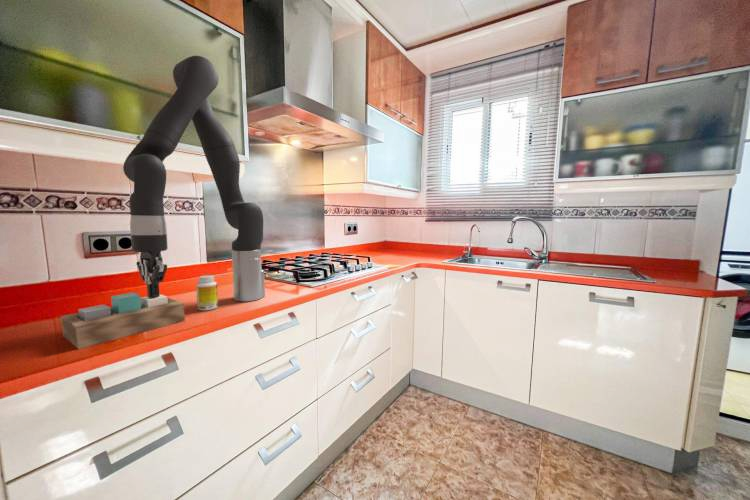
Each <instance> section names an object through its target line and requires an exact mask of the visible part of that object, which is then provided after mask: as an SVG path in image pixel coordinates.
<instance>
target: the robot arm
mask: <svg viewBox="0 0 750 500" xmlns="http://www.w3.org/2000/svg"><path fill="white" fill-rule="evenodd" d="M172 77H173V80H174V81H173V82H174V84H175V86H176V90H175V92H174V93H173V95H172V96H170V98H169V99H168V101H167V102H166V103H164V105H163V106H162V108H160V109H159V110H158V112H157V113H156V114H155V116H154V118H153V119H152V120H151V122H150V124H149V125H148V127H147V129H146V131H144V132H145V133H144V134H143V136H142V138H141V139H140V141H139V142H138V143H137V144H136V145H135V147H134V148H133V149H132V150H131V152H130V153H129V154H128V155H127V157H126V159H125V161H124V163H123V165H122V166H123V168H122V169H123V173H124V176H125V177H126V178H127V179H128V180H130V181H131V182H133V192H132V193H131V195H129V211H130V221H129V227H130V228H129V231H130V244H131V251H132V252H135V253H140V254H139V259H138V261H137V262H136V266H137V269H138V273H139V274H140V277H141V280H142V281H143V282H144V284H145V285H146V293H147V297H149V298H156V297H159V296H160V295H159V294H160V283H162V282H164V278H165V276H166V273H167V269H168V265H167V263H166V264H163V263H164V261H163V257H162V253H161V252H164V251H167V250H168V234H167V223H166V219H165V209H164V208H165V207H164V195H165V192H166V190H165V189H166V184H167V170H166V166H165V164H164V163H163V162H164V161H165V159H166V158H168V157H169V156H170V155H172V154H173V153H174V151H175V150H176V148H177V146H178V144H179V143H180V140H181V139H182V137H183V135H184V133H185V132H186V129H187V128H188V126H189V124H190V123H191V121H192V123H193V127H194V129H195V132H196V134H197V136H198V140H199V141H200V145H201V148H202V151H203V154H204V156H205V159H206V162H207V163H208V166H209V169H210V171H211V174H212V177H213V179H214V180H213V181H214V182H215V185H216V188H217V190H218V194H219V197H220V201H221V205H222V209H223V213H224V217H225V219H226V222H227V224H228V225H229V226H230V227H231V228H233V229H235V230H237V237H236V239H235V240H233V241H232V242H231V261H232V283H233V300H234V301H235V302H252V301H256V300H261V299H262V298H263V297H266V293H265V292H266V290H265V289H266V287H265V286H266V285H265V270H263V268H262V243H263V240H264V214H263V210H262V209H261V207H260V206H259V205H258V204H256V203H253V202H245V200H244V198H243V195H242V192H241V188H240V173H241V172H240V171H241V170H240V169H241V163H240V157H239V155H238V152H237V149H236V145H235V143H234V140H233V138H232V136H231V135H230V134H229V132H228V131H227V129H226V128H225V127H224V126H223V124H222V123H221V121H220V120H219V119H218V118H217V116H216V114H215V113H214V110H213V108H212V105H211V102H210V98H209V96H210V95H211V94H212V92H214V91H215V89H217V86H218V84H219V74H218V71H217V69H216V67H215V66H214V64H213V63H212V62H211V61H210V60H209V59H208V58H206V57H203V56H200V55H191V56H188V57H186V58H185V59H182V60H181V61H179V62H177V64H175V65H174V67H173V69H172Z"/></svg>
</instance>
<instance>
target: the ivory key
mask: <svg viewBox="0 0 750 500" xmlns="http://www.w3.org/2000/svg"><path fill="white" fill-rule="evenodd" d="M159 295H160V296H159V297H156V298H149V297H148V296H143V297H140V298H141V305H142V306H144V307H147V308H148V307H152V306H157V305H162V304H167V303H168V298H169V297H168V296H167V295H164V294H162V293H161V294H160V293H159Z"/></svg>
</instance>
